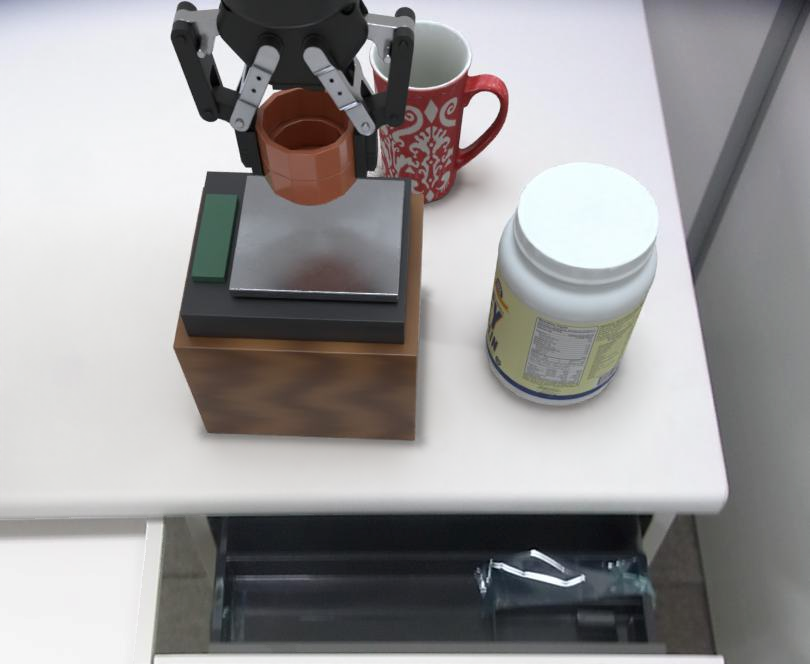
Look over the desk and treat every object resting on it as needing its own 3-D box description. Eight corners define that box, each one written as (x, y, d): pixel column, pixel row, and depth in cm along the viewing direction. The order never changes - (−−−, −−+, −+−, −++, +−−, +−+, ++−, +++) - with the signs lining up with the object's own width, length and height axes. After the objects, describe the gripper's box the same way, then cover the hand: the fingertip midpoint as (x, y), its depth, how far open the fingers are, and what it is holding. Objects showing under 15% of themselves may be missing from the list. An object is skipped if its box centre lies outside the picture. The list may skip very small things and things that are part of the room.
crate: (207, 433, 72) (172, 347, 61) (230, 287, 79) (202, 186, 68) (414, 440, 72) (417, 356, 61) (421, 294, 79) (424, 193, 68)
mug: (364, 203, 83) (358, 79, 71) (384, 139, 87) (382, 11, 75) (488, 224, 82) (504, 103, 70) (504, 159, 86) (522, 32, 74)
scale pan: (230, 296, 60) (228, 289, 59) (248, 183, 64) (246, 175, 64) (398, 302, 60) (398, 295, 59) (404, 188, 64) (404, 180, 63)
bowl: (261, 209, 55) (250, 152, 51) (271, 142, 58) (261, 83, 54) (355, 212, 55) (351, 156, 51) (361, 145, 58) (357, 86, 54)
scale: (188, 336, 62) (177, 309, 59) (213, 195, 68) (205, 164, 65) (404, 344, 62) (404, 316, 59) (411, 202, 67) (411, 171, 65)
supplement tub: (493, 292, 79) (515, 141, 63) (623, 312, 78) (677, 163, 62) (474, 400, 74) (493, 264, 58) (612, 422, 73) (668, 290, 58)
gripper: (426, -150, 42) (420, 132, 58) (143, -158, 42) (212, 126, 58) (422, -58, 39) (416, 214, 54) (117, -66, 39) (196, 207, 55)
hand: (311, 168), depth 56 cm, fingers closed on bowl, 6 cm apart
